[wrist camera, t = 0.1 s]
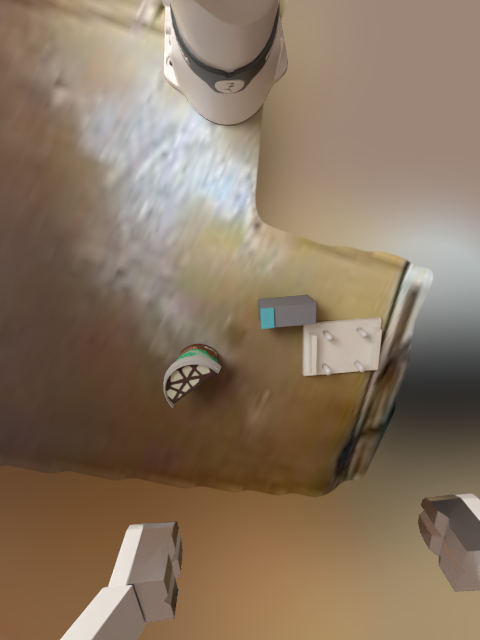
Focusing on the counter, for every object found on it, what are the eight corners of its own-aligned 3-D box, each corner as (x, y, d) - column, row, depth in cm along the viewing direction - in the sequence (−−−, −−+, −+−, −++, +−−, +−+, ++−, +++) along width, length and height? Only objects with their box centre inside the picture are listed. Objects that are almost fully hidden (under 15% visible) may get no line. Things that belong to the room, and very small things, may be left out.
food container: (202, 326, 58) (197, 348, 49) (222, 347, 60) (220, 371, 51) (159, 361, 60) (146, 387, 51) (179, 380, 62) (170, 409, 53)
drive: (257, 299, 57) (260, 308, 51) (307, 294, 57) (316, 304, 51) (258, 317, 58) (261, 329, 52) (307, 313, 58) (316, 324, 52)
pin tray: (302, 323, 59) (307, 330, 55) (379, 316, 59) (389, 323, 55) (302, 373, 63) (307, 383, 59) (374, 367, 63) (383, 377, 59)
